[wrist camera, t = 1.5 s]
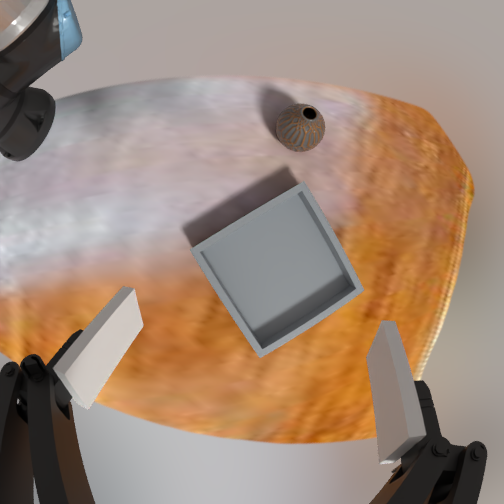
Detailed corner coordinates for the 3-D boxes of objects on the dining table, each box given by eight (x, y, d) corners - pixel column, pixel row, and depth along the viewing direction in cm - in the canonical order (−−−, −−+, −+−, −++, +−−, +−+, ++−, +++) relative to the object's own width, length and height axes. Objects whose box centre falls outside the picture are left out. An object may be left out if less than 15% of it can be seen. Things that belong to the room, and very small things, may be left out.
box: (193, 248, 39) (189, 249, 36) (298, 185, 40) (304, 181, 37) (257, 349, 41) (259, 358, 37) (354, 286, 41) (364, 290, 38)
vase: (265, 124, 40) (273, 98, 31) (304, 112, 40) (319, 86, 31) (284, 163, 40) (298, 144, 31) (323, 148, 40) (344, 128, 32)
